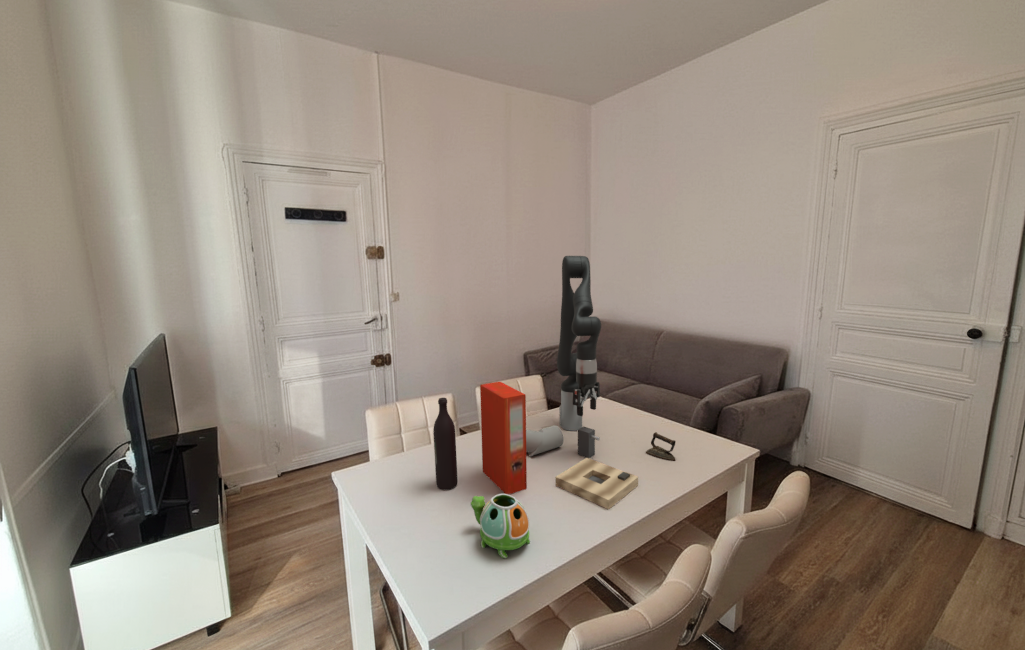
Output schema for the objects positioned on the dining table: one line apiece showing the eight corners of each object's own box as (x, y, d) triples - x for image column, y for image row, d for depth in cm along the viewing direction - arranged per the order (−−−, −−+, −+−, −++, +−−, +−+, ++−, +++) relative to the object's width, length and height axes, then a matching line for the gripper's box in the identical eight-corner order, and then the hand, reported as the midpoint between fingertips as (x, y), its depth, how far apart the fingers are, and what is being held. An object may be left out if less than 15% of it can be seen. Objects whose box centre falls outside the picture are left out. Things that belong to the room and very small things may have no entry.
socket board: (555, 485, 136) (555, 474, 135) (586, 465, 148) (586, 455, 148) (608, 509, 122) (608, 497, 121) (638, 485, 134) (638, 474, 134)
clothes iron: (654, 448, 161) (662, 427, 158) (678, 465, 153) (686, 443, 150) (643, 452, 157) (651, 430, 154) (667, 469, 149) (676, 446, 146)
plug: (577, 454, 157) (577, 429, 155) (583, 450, 160) (583, 426, 158) (595, 461, 151) (595, 435, 150) (601, 457, 154) (601, 431, 153)
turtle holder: (490, 514, 121) (488, 476, 119) (539, 540, 109) (538, 498, 107) (458, 536, 111) (456, 495, 110) (508, 566, 100) (507, 521, 98)
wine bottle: (449, 477, 142) (445, 393, 138) (462, 484, 137) (458, 398, 133) (432, 485, 138) (427, 399, 133) (444, 493, 132) (439, 404, 128)
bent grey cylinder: (525, 462, 149) (567, 448, 160) (521, 433, 149) (563, 421, 160) (500, 455, 164) (540, 442, 175) (496, 428, 164) (537, 417, 175)
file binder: (502, 466, 149) (500, 381, 144) (527, 488, 134) (525, 394, 129) (482, 472, 145) (479, 384, 140) (505, 495, 130) (502, 398, 126)
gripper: (588, 365, 159) (588, 405, 162) (566, 372, 149) (567, 415, 152) (605, 368, 154) (605, 409, 157) (583, 376, 144) (584, 420, 146)
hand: (586, 412), depth 154 cm, fingers open, 8 cm apart
